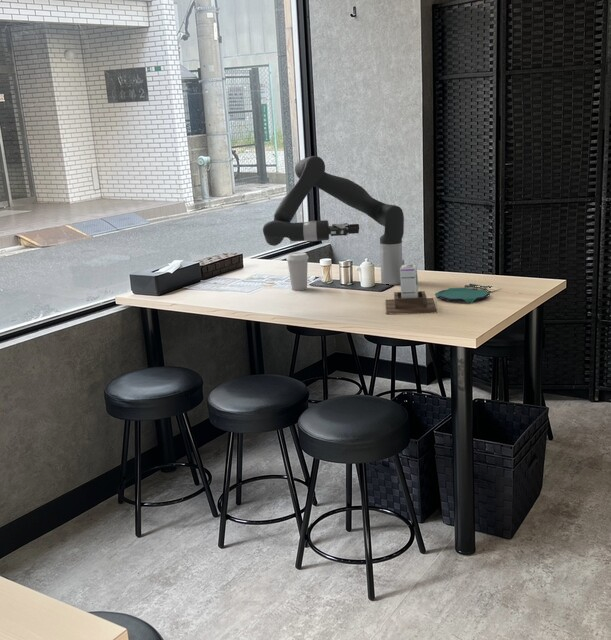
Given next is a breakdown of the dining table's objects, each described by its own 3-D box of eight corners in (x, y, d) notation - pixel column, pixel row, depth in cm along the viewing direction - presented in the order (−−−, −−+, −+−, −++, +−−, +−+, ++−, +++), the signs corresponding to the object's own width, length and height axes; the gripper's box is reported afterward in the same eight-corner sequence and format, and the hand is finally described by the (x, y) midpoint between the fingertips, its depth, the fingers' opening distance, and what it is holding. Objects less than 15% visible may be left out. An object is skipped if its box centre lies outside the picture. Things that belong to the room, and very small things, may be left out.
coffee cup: (285, 291, 327) (283, 256, 323) (291, 286, 336) (289, 252, 332) (307, 291, 324) (305, 255, 321) (312, 286, 333) (310, 251, 330)
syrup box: (417, 306, 283) (416, 267, 279) (400, 306, 284) (399, 267, 281) (418, 302, 288) (417, 264, 285) (402, 302, 290) (401, 264, 286)
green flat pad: (426, 300, 297) (426, 294, 296) (466, 286, 318) (466, 281, 318) (472, 306, 284) (472, 300, 283) (510, 291, 305) (510, 286, 305)
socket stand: (385, 302, 296) (385, 290, 295) (433, 300, 294) (432, 288, 293) (386, 314, 279) (386, 301, 278) (436, 312, 277) (436, 299, 276)
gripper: (314, 223, 284) (358, 221, 283) (316, 218, 298) (358, 216, 296) (315, 243, 286) (359, 241, 285) (317, 237, 300) (359, 235, 298)
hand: (359, 228), depth 290 cm, fingers open, 8 cm apart
